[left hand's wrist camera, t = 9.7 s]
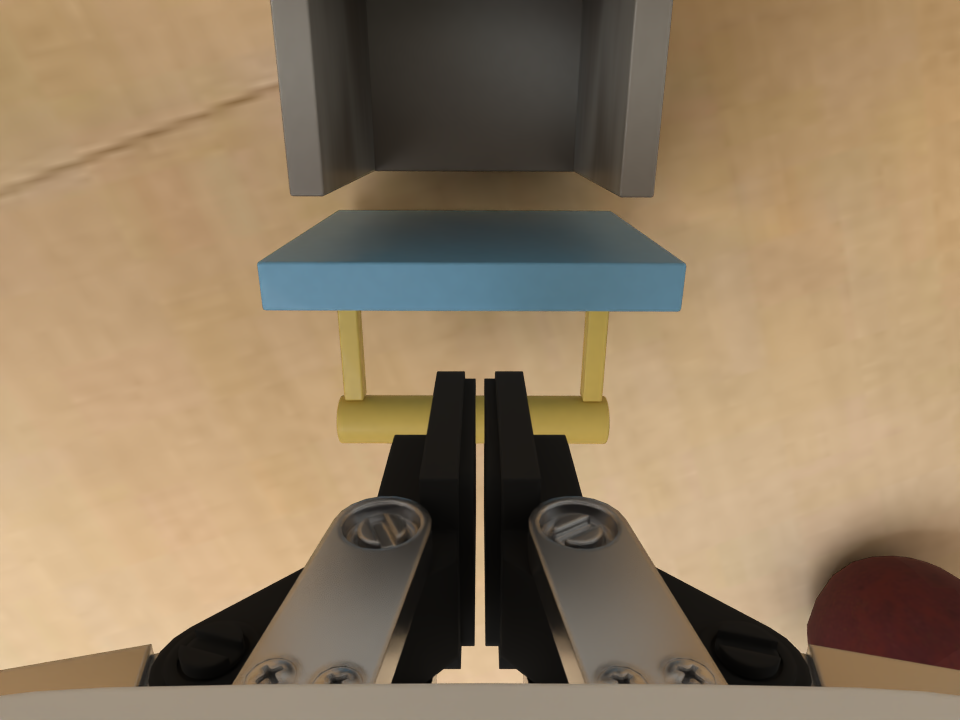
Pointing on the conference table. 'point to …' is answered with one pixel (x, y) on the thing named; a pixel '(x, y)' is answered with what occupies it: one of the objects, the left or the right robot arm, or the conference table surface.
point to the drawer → (471, 147)
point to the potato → (890, 611)
